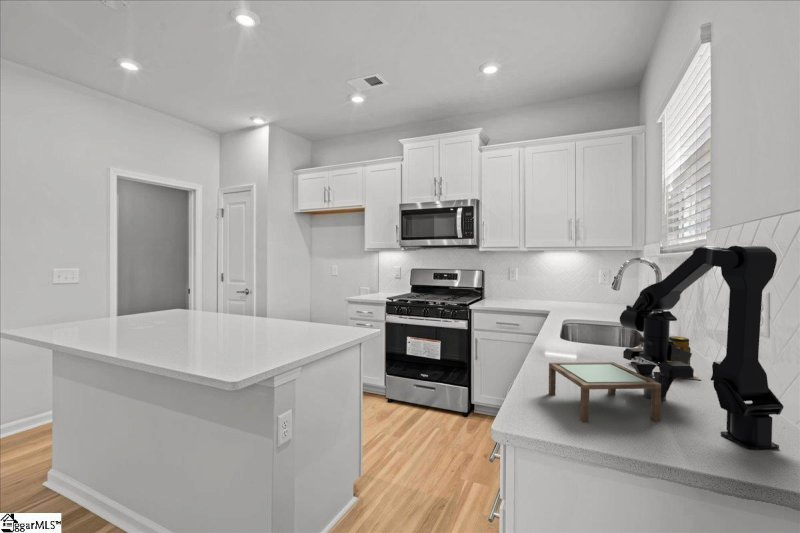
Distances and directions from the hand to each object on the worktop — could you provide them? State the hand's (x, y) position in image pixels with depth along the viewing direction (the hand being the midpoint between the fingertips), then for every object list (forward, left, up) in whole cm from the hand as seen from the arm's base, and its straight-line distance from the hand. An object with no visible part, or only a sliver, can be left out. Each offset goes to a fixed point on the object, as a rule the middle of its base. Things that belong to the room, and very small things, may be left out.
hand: (654, 393), depth 101 cm
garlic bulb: (+30, -17, -1) cm, 35 cm away
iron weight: (0, 0, -1) cm, 1 cm away
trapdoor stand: (-5, +18, -1) cm, 19 cm away
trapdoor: (-5, +18, +7) cm, 20 cm away
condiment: (+18, -22, -1) cm, 28 cm away
